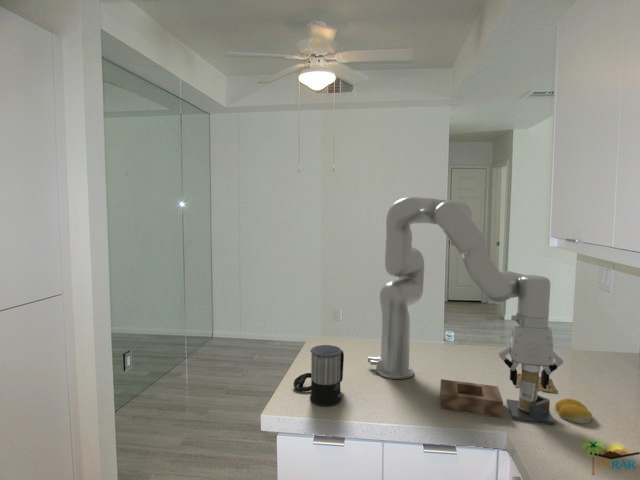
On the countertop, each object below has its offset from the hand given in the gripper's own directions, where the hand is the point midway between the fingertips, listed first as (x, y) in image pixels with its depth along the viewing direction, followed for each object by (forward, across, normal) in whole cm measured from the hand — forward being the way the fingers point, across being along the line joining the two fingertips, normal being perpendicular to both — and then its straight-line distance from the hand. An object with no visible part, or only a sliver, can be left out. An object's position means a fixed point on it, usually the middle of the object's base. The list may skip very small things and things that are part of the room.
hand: (528, 384), depth 112 cm
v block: (+8, 0, 0) cm, 8 cm away
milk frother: (+8, -59, -7) cm, 60 cm away
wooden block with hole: (+8, -15, 0) cm, 17 cm away
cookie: (+9, +6, +22) cm, 24 cm away
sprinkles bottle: (+7, 0, 0) cm, 7 cm away
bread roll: (+9, +12, +3) cm, 15 cm away
